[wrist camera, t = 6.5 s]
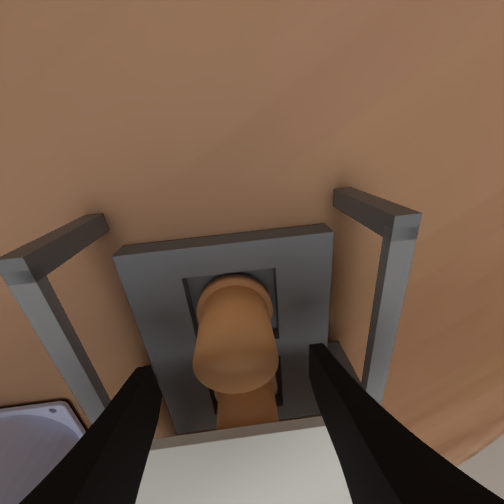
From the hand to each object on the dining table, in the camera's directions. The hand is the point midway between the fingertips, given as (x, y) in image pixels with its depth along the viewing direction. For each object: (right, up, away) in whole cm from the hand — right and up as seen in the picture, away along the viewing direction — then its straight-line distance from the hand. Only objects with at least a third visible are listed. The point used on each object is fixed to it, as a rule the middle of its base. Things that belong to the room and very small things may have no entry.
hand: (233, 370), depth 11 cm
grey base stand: (0, -3, +8) cm, 8 cm away
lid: (+1, -9, +4) cm, 10 cm away
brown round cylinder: (0, +2, +5) cm, 5 cm away
